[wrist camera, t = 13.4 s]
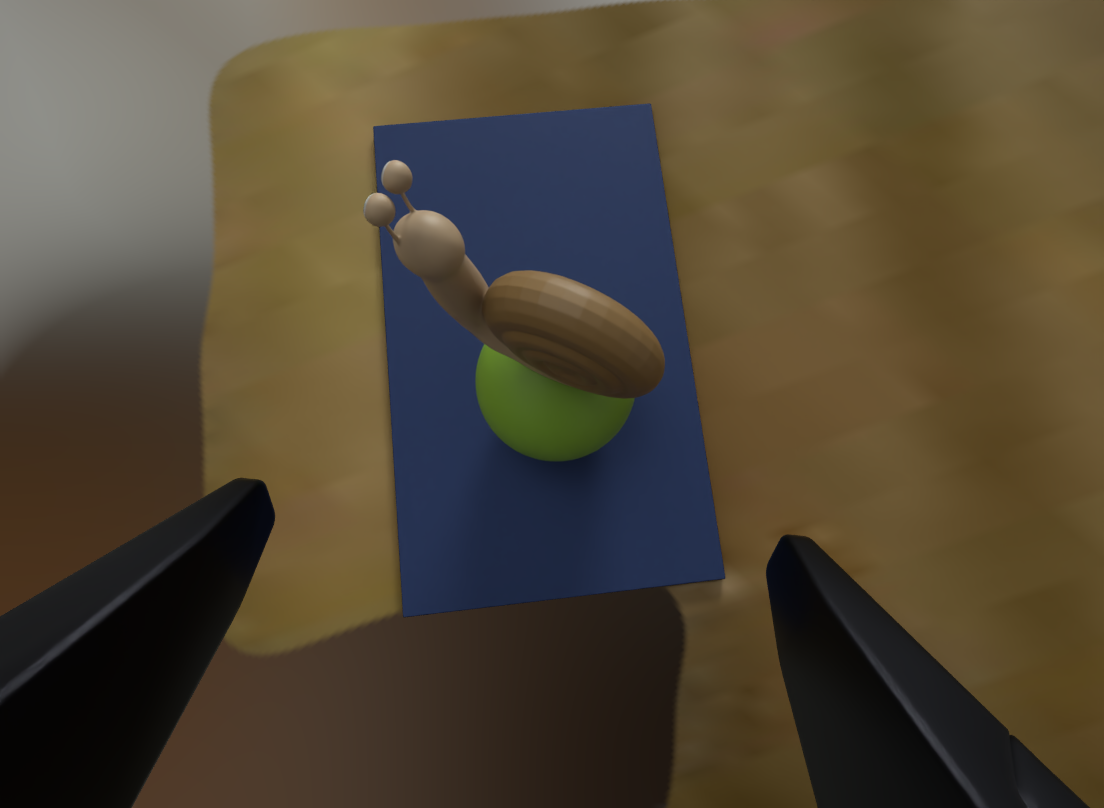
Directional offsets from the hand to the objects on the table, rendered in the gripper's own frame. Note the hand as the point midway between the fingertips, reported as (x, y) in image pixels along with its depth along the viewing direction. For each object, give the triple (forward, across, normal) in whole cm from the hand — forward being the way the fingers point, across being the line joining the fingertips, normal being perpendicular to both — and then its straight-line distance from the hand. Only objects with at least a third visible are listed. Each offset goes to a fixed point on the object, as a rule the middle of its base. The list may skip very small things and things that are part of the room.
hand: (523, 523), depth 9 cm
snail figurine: (+11, 0, +4) cm, 12 cm away
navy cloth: (+12, 0, +3) cm, 13 cm away
